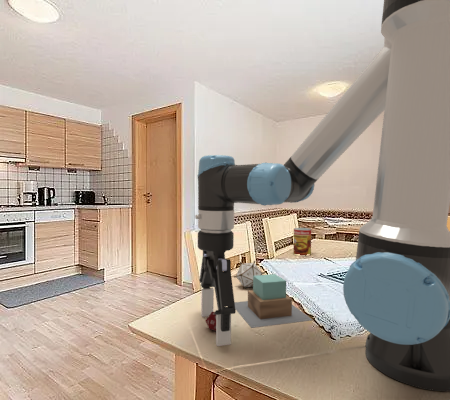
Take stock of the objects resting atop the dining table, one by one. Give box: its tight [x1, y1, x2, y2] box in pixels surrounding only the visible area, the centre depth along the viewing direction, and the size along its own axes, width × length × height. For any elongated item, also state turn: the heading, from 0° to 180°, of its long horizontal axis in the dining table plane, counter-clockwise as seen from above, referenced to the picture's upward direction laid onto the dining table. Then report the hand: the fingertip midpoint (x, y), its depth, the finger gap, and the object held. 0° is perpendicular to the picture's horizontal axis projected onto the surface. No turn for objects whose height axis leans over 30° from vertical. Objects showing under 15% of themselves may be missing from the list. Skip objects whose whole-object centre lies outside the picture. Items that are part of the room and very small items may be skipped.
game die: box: [233, 260, 266, 290], centre depth 93 cm, size 9×8×10 cm
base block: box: [247, 289, 293, 319], centre depth 75 cm, size 8×8×4 cm
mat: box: [234, 300, 313, 329], centre depth 75 cm, size 15×15×1 cm
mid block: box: [252, 273, 287, 300], centre depth 75 cm, size 6×6×4 cm
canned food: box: [293, 227, 312, 255], centre depth 142 cm, size 8×8×12 cm
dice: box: [204, 311, 216, 332], centre depth 65 cm, size 4×4×4 cm
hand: (214, 329), depth 65 cm, fingers open, 13 cm apart
